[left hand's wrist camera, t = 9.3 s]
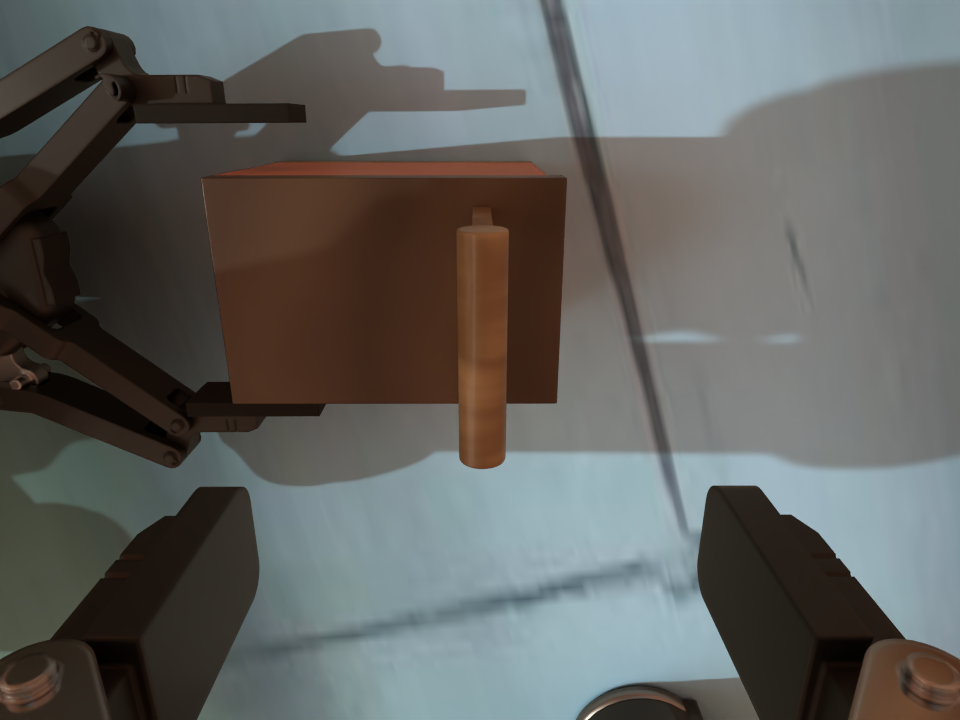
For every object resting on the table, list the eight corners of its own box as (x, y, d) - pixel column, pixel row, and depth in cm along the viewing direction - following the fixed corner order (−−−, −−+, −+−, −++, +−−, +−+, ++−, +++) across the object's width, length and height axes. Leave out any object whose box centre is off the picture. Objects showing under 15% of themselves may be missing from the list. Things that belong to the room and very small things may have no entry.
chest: (530, 161, 35) (548, 174, 26) (526, 328, 38) (540, 392, 29) (281, 161, 35) (213, 174, 26) (298, 328, 38) (242, 392, 29)
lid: (563, 175, 26) (600, 198, 18) (553, 392, 29) (582, 495, 21) (212, 174, 26) (93, 198, 18) (242, 392, 29) (152, 495, 21)
